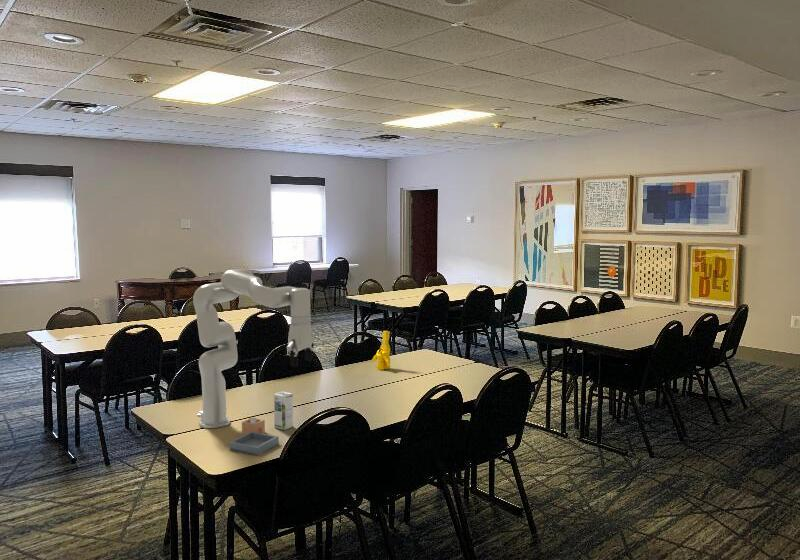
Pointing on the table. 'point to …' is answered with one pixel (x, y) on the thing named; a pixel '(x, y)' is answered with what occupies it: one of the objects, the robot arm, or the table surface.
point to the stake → (252, 420)
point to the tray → (254, 443)
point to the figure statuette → (383, 353)
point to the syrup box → (283, 410)
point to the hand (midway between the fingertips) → (301, 363)
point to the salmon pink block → (253, 426)
